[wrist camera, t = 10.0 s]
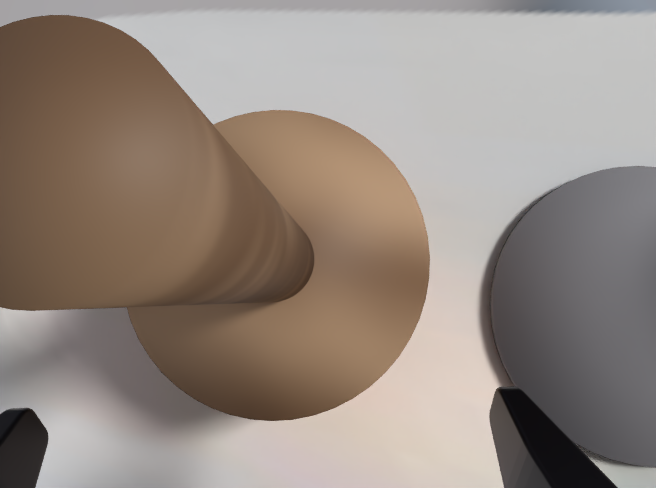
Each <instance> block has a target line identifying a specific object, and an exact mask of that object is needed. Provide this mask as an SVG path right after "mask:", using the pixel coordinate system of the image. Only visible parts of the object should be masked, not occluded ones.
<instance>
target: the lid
mask: <svg viewBox="0 0 656 488" xmlns="http://www.w3.org/2000/svg"><path fill="white" fill-rule="evenodd" d="M429 265H430V254H429V245H428V236H427V232H426V227H425V223H424V219H423V215H422V213H421V210H420V208H419V205H418V202H417V200H416V197H415V195H414V194H413V192H412V190H411V188H410V186H409V185H408V183H407V181H406V179H405V178H404V176H403V175H402V174H401V172H400V171H399V170H398V168H397V167H396V166H395V164H394V163H393V162H392V161H391V160H390V159H389V158H388V157H387V156H386V155H385V154H384V153H383V152H382V151H381V150H380V149H379V148H378V147H377V146H376V145H374V144H373V143H372V142H371V141H369V140H368V139H367V138H366V137H364V136H362V135H361V134H359V133H357V132H356V131H354V130H352V129H351V128H349V127H347V126H345V125H343V124H340V123H338V122H336V121H333V120H331V119H328V118H325V117H321V116H318V115H314V114H311V113H304V112H298V111H286V110H270V111H260V112H252V113H248V114H243V115H239V116H235V117H232V118H229V119H227V120H224V121H221V122H218V123H216V124H214V125H213V124H212V123H211V122H210V121H209V120H208V118H207V117H206V116H205V115H204V114H203V112H202V111H201V110H200V109H199V108H198V107H197V105H196V104H195V103H194V102H193V101H192V100H191V98H190V97H189V96H188V95H187V94H186V93H185V91H184V90H183V89H182V88H181V87H180V86H179V84H178V83H177V82H176V81H175V80H174V79H173V77H172V76H171V75H170V74H169V73H168V71H167V70H166V69H165V68H164V67H163V66H162V64H161V63H160V62H159V61H158V60H157V59H156V58H155V57H154V56H153V55H152V53H151V52H150V51H149V50H148V49H146V48H145V47H144V46H143V45H142V44H140V43H139V42H138V41H137V40H136V39H134V38H132V37H131V36H129V35H128V34H126V33H124V32H123V31H121V30H119V29H117V28H115V27H112V26H110V25H108V24H105V23H103V22H99V21H96V20H92V19H89V18H83V17H76V16H69V15H49V16H39V17H32V18H27V19H23V20H20V21H16V22H12V23H10V24H7V25H4V26H2V27H0V307H2V308H7V309H12V310H29V311H36V310H64V309H93V308H121V307H127V310H128V313H129V317H130V320H131V323H132V325H133V327H134V330H135V332H136V334H137V336H138V339H139V341H140V342H141V344H142V346H143V347H144V349H145V351H146V352H147V354H148V355H149V357H150V358H151V359H152V361H153V362H154V363H155V364H156V366H157V367H158V368H159V369H160V371H161V372H162V373H163V374H164V375H165V376H166V377H167V378H168V379H169V380H170V381H171V382H173V383H174V384H175V385H176V386H177V387H178V388H180V389H181V390H182V391H184V392H185V393H187V394H188V395H189V396H191V397H192V398H194V399H195V400H197V401H199V402H201V403H203V404H205V405H207V406H209V407H211V408H213V409H216V410H218V411H221V412H224V413H227V414H229V415H233V416H238V417H242V418H247V419H253V420H266V421H278V420H293V419H298V418H303V417H308V416H313V415H316V414H319V413H322V412H325V411H328V410H330V409H333V408H335V407H337V406H339V405H341V404H343V403H345V402H347V401H349V400H351V399H353V398H354V397H356V396H357V395H359V394H360V393H361V392H363V391H364V390H366V389H367V388H369V387H370V386H371V385H372V384H373V383H374V382H376V381H377V380H378V379H379V378H380V377H381V376H382V375H383V374H384V373H385V372H386V371H387V370H388V369H389V368H390V366H391V365H392V364H393V363H394V362H395V360H396V359H397V358H398V357H399V356H400V354H401V352H402V351H403V349H404V348H405V346H406V345H407V343H408V341H409V340H410V338H411V336H412V334H413V332H414V330H415V327H416V325H417V323H418V321H419V319H420V315H421V312H422V309H423V306H424V302H425V299H426V294H427V287H428V281H429Z"/></svg>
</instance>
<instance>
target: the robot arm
mask: <svg viewBox="0 0 656 488" xmlns="http://www.w3.org/2000/svg"><path fill="white" fill-rule="evenodd" d="M489 417H490V425H491V430H492V434H493V439H494V443H495V448H496V453H497V457H498V462H499V466H500V471H501V475H502V480H503V484H504V488H617V487H616V486H615V484H614V483H613V482H612V481H611V480H610V479H609V478H608V477H607V476H606V475H605V474H604V473H603V472H602V471H601V470H600V469H599V468H598V467H597V466H596V465H595V464H594V463H593V462H592V461H591V460H590V459H589V458H588V457H587V456H586V455H585V454H584V453H583V452H582V451H581V450H580V449H579V448H578V446H577V445H576V444H575V443H574V442H573V441H572V440H571V439H570V438H569V437H568V436H567V435H566V434H565V433H564V432H563V431H562V430H561V429H560V428H559V427H558V426H557V425H556V424H555V423H554V422H553V421H552V420H551V419H550V418H549V417H548V416H547V415H546V414H545V413H544V412H543V411H542V409H541V408H540V407H539V406H538V405H537V404H536V403H535V402H534V401H533V400H532V399H531V398H530V397H529V396H528V395H527V394H526V393H525V392H524V391H523V390H522V389H520V388H519V387H515V386H513V387H499V388H497V389H496V391H495V394H494V398H493V402H492V405H491V409H490V415H489ZM47 444H48V432H47V430H46V428H45V427H44V425H43V424H42V422H41V421H40V419H39V418H38V417H37V415H36V414H35V412H34V411H33V410H32V409H30V408H13V409H8V410H6V411H4V412H3V413H1V414H0V488H35V487H36V483H37V480H38V476H39V473H40V469H41V466H42V462H43V459H44V455H45V452H46V448H47Z"/></svg>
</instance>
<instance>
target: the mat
mask: <svg viewBox="0 0 656 488" xmlns="http://www.w3.org/2000/svg"><path fill="white" fill-rule="evenodd" d="M490 309H491V323H492V329H493V334H494V339H495V343H496V346H497V349H498V352H499V355H500V358H501V361H502V363H503V365H504V367H505V369H506V371H507V373H508V375H509V377H510V379H511V381H512V382H513V384H514V385H515V387H519V388H520V389H522V390H523V391H524V392H525V393H526V394H527V395H528V396H529V397H530V398H531V399H532V400H533V401H534V402H535V403H536V404H537V405H538V406H539V407H540V408H541V409H542V411H543V412H544V413H545V414H546V415H547V416H548V417H549V418H550V419H551V420H552V421H553V422H554V423H555V424H556V425H557V426H558V427H559V428H560V429H561V430H562V431H563V432H564V433H565V434H566V435H567V436H568V437H569V438H570V439H571V440H572V441H573V442H574V443H576V444H578V445H580V446H582V447H584V448H585V449H587V450H589V451H591V452H594V453H596V454H599V455H601V456H604V457H606V458H609V459H612V460H616V461H620V462H623V463H627V464H631V465H639V466H647V467H656V167H645V166H631V167H617V168H611V169H606V170H600V171H597V172H594V173H591V174H587V175H584V176H581V177H579V178H577V179H575V180H573V181H570V182H568V183H566V184H564V185H562V186H561V187H559V188H558V189H556V190H554V191H553V192H551V193H550V194H548V195H546V196H545V197H544V198H542V199H541V200H540V201H539V202H538V203H536V204H535V205H534V206H533V207H532V208H531V209H530V210H529V211H528V212H527V213H526V214H525V215H524V216H523V217H522V219H521V220H520V221H519V222H518V224H517V225H516V226H515V228H514V229H513V231H512V232H511V234H510V235H509V237H508V239H507V241H506V243H505V245H504V247H503V249H502V251H501V253H500V256H499V259H498V262H497V265H496V267H495V271H494V276H493V281H492V286H491V301H490Z"/></svg>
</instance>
